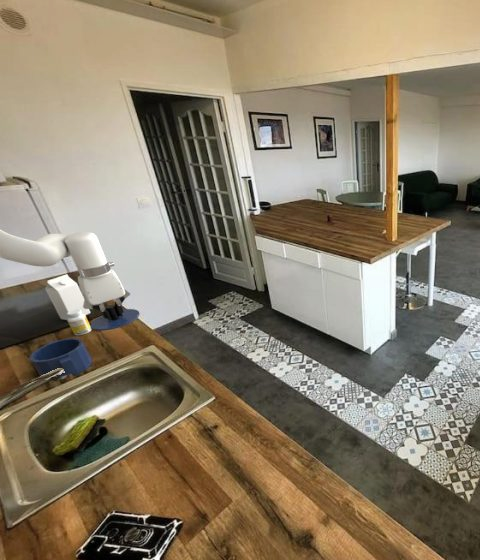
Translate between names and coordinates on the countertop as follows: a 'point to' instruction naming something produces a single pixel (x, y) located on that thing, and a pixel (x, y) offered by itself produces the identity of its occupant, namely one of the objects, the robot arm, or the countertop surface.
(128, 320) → the pot lid
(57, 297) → the milk carton
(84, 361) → the pot
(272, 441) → the countertop surface
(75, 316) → the supplement bottle
